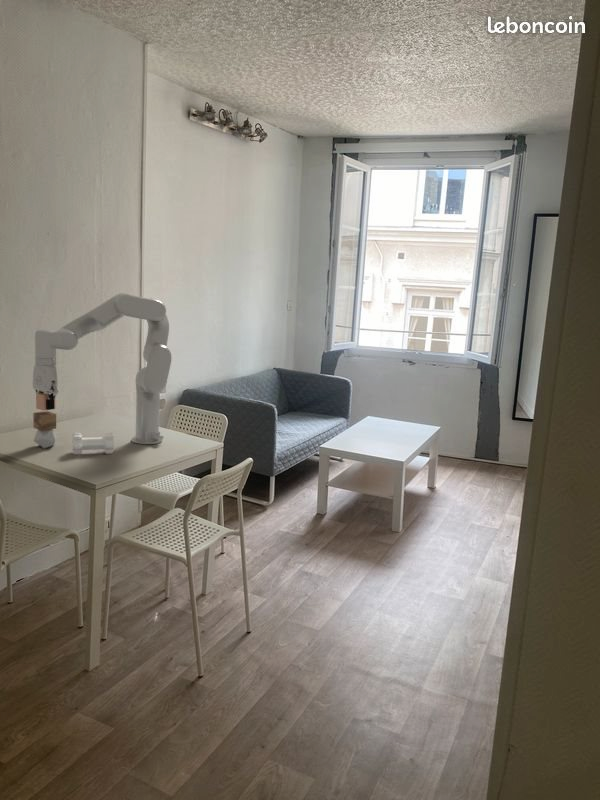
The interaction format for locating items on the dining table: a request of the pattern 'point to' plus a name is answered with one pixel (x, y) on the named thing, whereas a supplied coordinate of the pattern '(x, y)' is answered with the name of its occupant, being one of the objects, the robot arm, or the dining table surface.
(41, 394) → the block terracotta
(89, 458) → the dining table surface
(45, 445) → the die
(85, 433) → the dining table surface
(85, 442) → the dog bone
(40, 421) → the block walnut
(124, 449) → the dining table surface
